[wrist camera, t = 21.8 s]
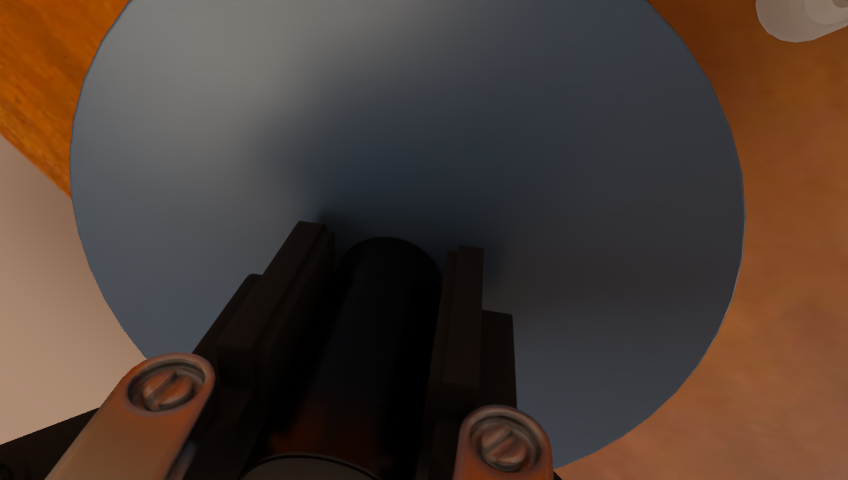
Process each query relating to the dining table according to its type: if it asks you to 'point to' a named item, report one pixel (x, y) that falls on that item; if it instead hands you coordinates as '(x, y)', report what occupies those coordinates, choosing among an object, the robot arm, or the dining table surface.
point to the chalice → (801, 18)
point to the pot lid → (415, 202)
